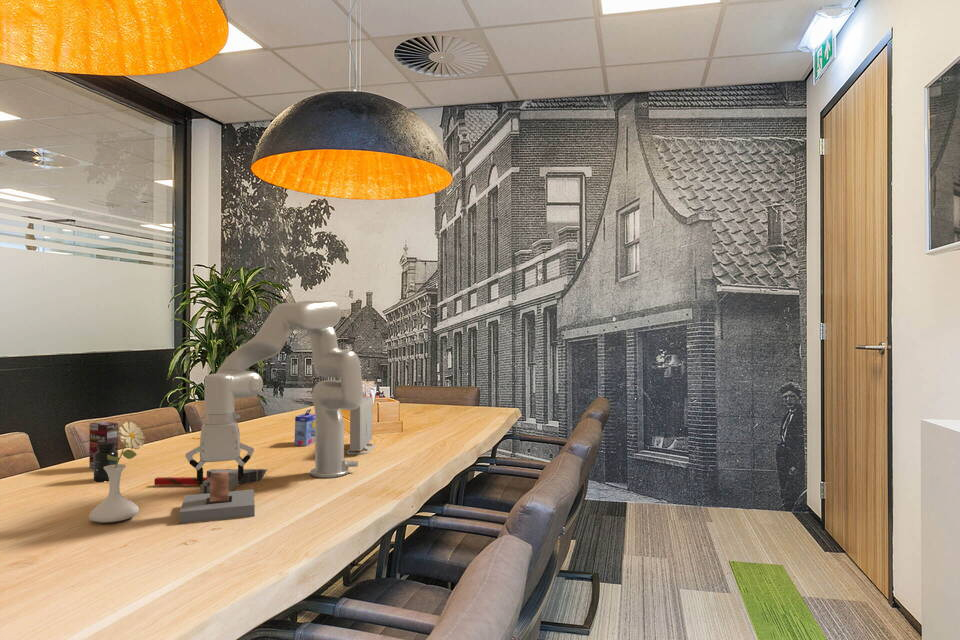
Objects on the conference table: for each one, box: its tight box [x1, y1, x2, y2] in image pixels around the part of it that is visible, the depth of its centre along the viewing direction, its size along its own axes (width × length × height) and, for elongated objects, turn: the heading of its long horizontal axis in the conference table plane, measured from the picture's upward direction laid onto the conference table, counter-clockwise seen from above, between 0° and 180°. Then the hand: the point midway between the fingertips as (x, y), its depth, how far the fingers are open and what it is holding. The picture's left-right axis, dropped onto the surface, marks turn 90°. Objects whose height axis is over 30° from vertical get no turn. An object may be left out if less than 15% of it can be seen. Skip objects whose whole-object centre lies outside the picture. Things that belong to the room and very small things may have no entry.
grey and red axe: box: [153, 468, 268, 494], centre depth 197 cm, size 24×4×30 cm
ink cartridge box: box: [293, 408, 315, 447], centre depth 261 cm, size 10×6×14 cm, turn 171°
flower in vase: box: [88, 421, 146, 524], centre depth 162 cm, size 13×11×25 cm
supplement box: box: [88, 421, 119, 469], centre depth 217 cm, size 9×5×16 cm, turn 68°
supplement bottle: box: [93, 442, 119, 483], centre depth 201 cm, size 7×7×12 cm
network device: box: [345, 396, 376, 456], centre depth 250 cm, size 26×9×20 cm, turn 179°
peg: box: [209, 472, 229, 504], centre depth 169 cm, size 5×5×10 cm
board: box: [179, 489, 256, 524], centre depth 169 cm, size 18×16×3 cm
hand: (220, 481), depth 169 cm, fingers open, 9 cm apart
